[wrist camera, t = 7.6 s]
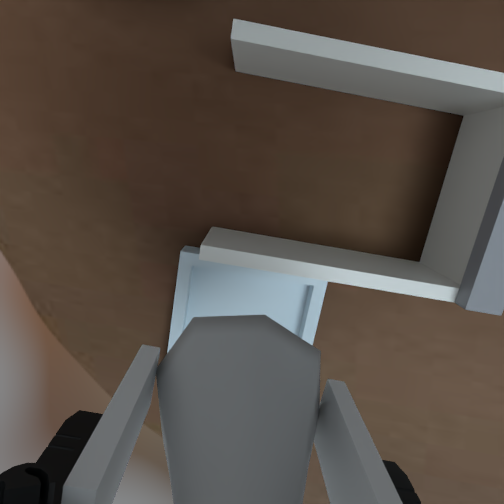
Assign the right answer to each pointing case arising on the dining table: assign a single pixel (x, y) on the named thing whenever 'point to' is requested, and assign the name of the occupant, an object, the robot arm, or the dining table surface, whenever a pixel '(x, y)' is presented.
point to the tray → (243, 295)
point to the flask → (238, 411)
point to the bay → (454, 186)
